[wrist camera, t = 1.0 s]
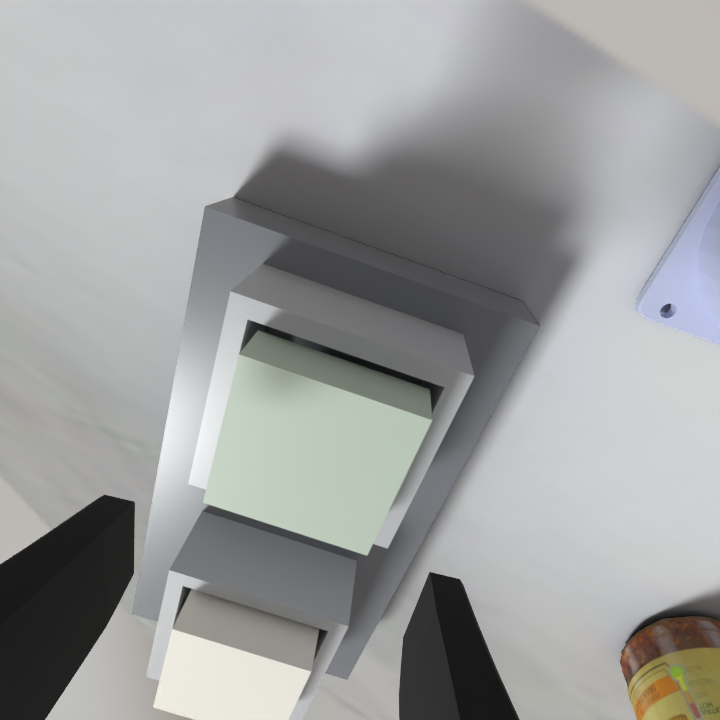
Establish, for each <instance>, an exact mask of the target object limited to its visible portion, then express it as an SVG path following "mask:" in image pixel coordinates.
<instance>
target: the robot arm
mask: <svg viewBox="0 0 720 720" xmlns="http://www.w3.org/2000/svg"><path fill="white" fill-rule="evenodd" d="M666 304H671V308H670V310H669V311H668V312H667V313H665V314H660V310H661V308H662V307H663V306H664V305H666ZM635 309H636V310H637V312H638V313H639V314H640V315H641V316H643V317H644V318H646V319H649V320H652V321H654V322H657V323H660V324H663V325H665V326H668V327H671V328H674V329H676V330H679V331H682V332H685V333H688V334H690V335H693V336H696V337H699V338H701V339H704V340H707V341H710V342H712V343H715V344H718V345H720V167H719V169H718V170H717V172H716V173H715V175H714V177H713V178H712V180H711V181H710V183H709V185H708V186H707V188H706V189H705V191H704V193H703V194H702V196H701V197H700V199H699V201H698V202H697V204H696V205H695V207H694V209H693V210H692V212H691V213H690V215H689V216H688V218H687V220H686V221H685V223H684V224H683V226H682V228H681V229H680V231H679V232H678V234H677V236H676V237H675V239H674V240H673V242H672V244H671V245H670V247H669V248H668V250H667V252H666V253H665V255H664V256H663V258H662V260H661V261H660V263H659V264H658V266H657V268H656V269H655V271H654V272H653V274H652V276H651V277H650V279H649V280H648V282H647V284H646V285H645V287H644V288H643V290H642V292H641V293H640V295H639V296H638V298H637V300H636V303H635ZM134 517H135V502H133V501H129V500H124V499H120V498H116V497H112V496H107V495H103V496H102V497H100V498H98V499H97V500H95V501H94V502H92V503H91V504H89V505H88V506H86V507H85V508H84V509H82V510H81V511H79V512H78V513H76V514H75V515H73V516H72V517H70V518H69V519H68V520H66V521H65V522H63V523H62V524H60V525H59V526H57V527H56V528H54V529H53V530H51V531H50V532H48V533H47V534H46V535H44V536H43V537H41V538H40V539H38V540H37V541H35V542H34V543H32V544H31V545H29V546H28V547H26V548H25V549H23V550H22V551H20V552H19V553H17V554H16V555H14V556H12V557H11V558H9V559H8V560H6V561H5V562H3V563H2V564H0V720H45V719H46V717H47V716H48V714H49V713H50V711H51V709H52V708H53V707H54V705H55V704H56V702H57V701H58V699H59V697H60V696H61V695H62V693H63V692H64V690H65V688H66V687H67V685H68V684H69V682H70V681H71V679H72V678H73V676H74V675H75V673H76V672H77V670H78V669H79V667H80V666H81V664H82V663H83V661H84V660H85V658H86V657H87V655H88V654H89V652H90V651H91V649H92V647H93V646H94V644H95V643H96V641H97V640H98V638H99V637H100V635H101V634H102V632H103V631H104V629H105V627H106V626H107V624H108V622H109V620H110V618H111V617H112V615H113V613H114V611H115V609H116V607H117V605H118V603H119V602H120V600H121V598H122V596H123V594H124V592H125V590H126V588H127V586H128V584H129V582H130V580H131V578H132V576H133V574H134ZM399 719H400V720H519V718H518V715H517V713H516V711H515V709H514V707H513V704H512V702H511V700H510V698H509V696H508V693H507V691H506V689H505V687H504V684H503V682H502V680H501V678H500V676H499V673H498V671H497V669H496V666H495V664H494V662H493V659H492V657H491V655H490V652H489V650H488V647H487V645H486V642H485V640H484V638H483V635H482V633H481V630H480V628H479V625H478V623H477V620H476V618H475V615H474V612H473V610H472V607H471V604H470V602H469V599H468V597H467V594H466V591H465V588H464V586H463V584H462V582H461V581H460V579H456V578H452V577H448V576H444V575H440V574H435V573H431V572H430V573H429V575H428V577H427V580H426V582H425V585H424V587H423V590H422V592H421V595H420V597H419V600H418V602H417V605H416V607H415V610H414V612H413V615H412V617H411V620H410V622H409V625H408V627H407V630H406V632H405V634H404V637H403V648H402V661H401V674H400V689H399Z"/></svg>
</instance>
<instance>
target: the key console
mask: <svg viewBox="0 0 720 720" xmlns="http://www.w3.org/2000/svg"><path fill="white" fill-rule="evenodd" d="M538 328H539V324H538V323H537V321H536V320H535V318H534V317H533V315H532V314H531V312H530V311H529V309H528V308H527V306H526V305H525V304H524V302H523V301H521V300H518V299H515V298H513V297H510V296H507V295H504V294H501V293H499V292H496V291H493V290H490V289H487V288H485V287H482V286H479V285H476V284H474V283H471V282H468V281H465V280H462V279H460V278H457V277H454V276H451V275H448V274H446V273H443V272H440V271H437V270H434V269H432V268H429V267H426V266H423V265H421V264H418V263H415V262H412V261H409V260H407V259H404V258H401V257H398V256H395V255H393V254H390V253H387V252H384V251H381V250H379V249H376V248H373V247H370V246H368V245H365V244H362V243H359V242H356V241H354V240H351V239H348V238H345V237H342V236H340V235H337V234H334V233H331V232H329V231H326V230H323V229H320V228H317V227H315V226H312V225H309V224H306V223H303V222H301V221H298V220H295V219H292V218H289V217H287V216H284V215H281V214H278V213H276V212H273V211H270V210H267V209H264V208H262V207H259V206H256V205H253V204H250V203H248V202H245V201H242V200H239V199H236V198H234V197H232V198H229V199H226V200H223V201H220V202H217V203H214V204H211V205H208V206H205V209H204V215H203V221H202V226H201V232H200V237H199V243H198V248H197V254H196V260H195V265H194V271H193V276H192V282H191V287H190V293H189V299H188V304H187V310H186V315H185V321H184V327H183V332H182V338H181V343H180V349H179V354H178V360H177V366H176V371H175V377H174V382H173V388H172V394H171V399H170V405H169V410H168V416H167V421H166V427H165V433H164V438H163V444H162V449H161V455H160V461H159V466H158V472H157V477H156V483H155V488H154V494H153V500H152V505H151V511H150V516H149V522H148V528H147V533H146V539H145V544H144V550H143V555H142V561H141V567H140V572H139V578H138V583H137V589H136V595H135V600H134V606H133V611H132V614H135V615H139V616H142V617H145V618H148V619H152V620H155V621H158V624H157V628H156V633H155V637H154V642H153V647H152V651H151V656H150V660H149V665H148V670H147V674H146V677H149V678H153V679H155V680H159V681H160V677H161V673H162V669H163V665H164V661H165V657H166V652H167V648H168V644H169V640H170V636H171V632H172V628H173V626H174V624H175V622H176V620H177V618H178V616H179V614H180V612H181V610H182V608H183V606H184V604H185V602H186V599H187V597H188V595H189V593H190V591H191V589H193V590H197V591H200V592H203V593H206V594H209V595H213V596H216V597H219V598H222V599H225V600H229V601H232V602H235V603H238V604H241V605H245V606H248V607H251V608H254V609H257V610H261V611H264V612H267V613H270V614H273V615H277V616H280V617H283V618H286V619H289V620H293V621H296V622H299V623H302V624H305V625H309V626H312V627H315V628H318V629H319V634H318V639H317V644H316V650H315V655H314V661H313V666H312V671H311V674H310V676H309V678H308V680H307V682H306V684H305V686H304V688H303V690H302V692H301V695H300V697H299V699H298V701H297V703H296V705H295V707H294V709H293V711H292V713H291V715H290V717H289V720H302V718H303V716H304V714H305V712H306V710H307V708H308V706H309V704H310V702H311V700H312V698H313V696H314V694H315V692H316V690H317V688H318V686H319V684H320V682H321V680H322V678H323V676H324V674H325V673H327V674H330V675H333V676H337V677H340V678H343V679H346V680H347V679H348V677H349V675H350V674H351V672H352V670H353V668H354V666H355V664H356V662H357V661H358V659H359V657H360V655H361V653H362V651H363V650H364V648H365V646H366V644H367V642H368V640H369V639H370V637H371V635H372V633H373V631H374V629H375V628H376V626H377V624H378V622H379V620H380V618H381V617H382V615H383V613H384V611H385V609H386V607H387V606H388V604H389V602H390V600H391V598H392V596H393V594H394V593H395V591H396V589H397V587H398V585H399V583H400V582H401V580H402V578H403V576H404V574H405V572H406V571H407V569H408V567H409V565H410V563H411V561H412V560H413V558H414V556H415V554H416V552H417V550H418V549H419V547H420V545H421V543H422V541H423V539H424V538H425V536H426V534H427V532H428V530H429V528H430V527H431V525H432V523H433V521H434V519H435V517H436V515H437V514H438V512H439V510H440V508H441V506H442V504H443V503H444V501H445V499H446V497H447V495H448V493H449V492H450V490H451V488H452V486H453V484H454V482H455V481H456V479H457V477H458V475H459V473H460V471H461V470H462V468H463V466H464V464H465V462H466V460H467V459H468V457H469V455H470V453H471V451H472V449H473V447H474V446H475V444H476V442H477V440H478V438H479V436H480V435H481V433H482V431H483V429H484V427H485V425H486V424H487V422H488V420H489V418H490V416H491V414H492V413H493V411H494V409H495V407H496V405H497V403H498V402H499V400H500V398H501V396H502V394H503V392H504V391H505V389H506V387H507V385H508V383H509V381H510V379H511V378H512V376H513V374H514V372H515V370H516V368H517V367H518V365H519V363H520V361H521V359H522V357H523V356H524V354H525V352H526V350H527V348H528V346H529V345H530V343H531V341H532V339H533V337H534V335H535V334H536V332H537V330H538ZM258 330H259V331H262V332H265V333H268V334H271V335H273V336H276V337H279V338H282V339H285V340H288V341H291V342H294V343H297V344H300V345H302V346H305V347H308V348H311V349H314V350H317V351H320V352H323V353H326V354H329V355H332V356H334V357H337V358H340V359H343V360H346V361H349V362H352V363H355V364H358V365H361V366H363V367H366V368H369V369H372V370H375V371H378V372H381V373H384V374H387V375H390V376H392V377H395V378H398V379H401V380H404V381H407V382H410V383H413V384H416V385H419V386H421V387H424V388H427V389H430V396H431V410H432V422H431V424H430V426H429V428H428V430H427V432H426V434H425V437H424V439H423V441H422V443H421V445H420V447H419V449H418V451H417V453H416V455H415V457H414V459H413V462H412V464H411V466H410V468H409V470H408V472H407V474H406V476H405V478H404V480H403V482H402V484H401V486H400V489H399V491H398V493H397V495H396V497H395V499H394V501H393V503H392V505H391V507H390V509H389V511H388V514H387V516H386V518H385V520H384V522H383V524H382V526H381V528H380V530H379V532H378V534H377V536H376V538H375V541H374V543H373V545H372V547H371V549H370V551H369V553H368V555H363V554H360V553H357V552H354V551H351V550H348V549H345V548H342V547H339V546H336V545H333V544H329V543H326V542H323V541H320V540H317V539H314V538H311V537H308V536H305V535H302V534H298V533H295V532H292V531H289V530H286V529H283V528H280V527H277V526H274V525H271V524H267V523H264V522H261V521H258V520H255V519H252V518H249V517H246V516H243V515H240V514H236V513H233V512H230V511H227V510H224V509H221V508H218V507H215V506H212V505H209V504H206V503H203V500H204V496H205V492H206V488H207V484H208V480H209V475H210V471H211V467H212V463H213V459H214V455H215V451H216V447H217V442H218V438H219V434H220V430H221V426H222V422H223V418H224V414H225V410H226V405H227V401H228V397H229V393H230V389H231V385H232V381H233V377H234V372H235V368H236V364H237V360H238V356H239V354H240V352H241V351H242V350H243V349H244V347H245V346H246V345H247V343H248V342H249V341H250V340H251V338H252V337H253V336H254V335H255V333H256V332H257V331H258Z"/></svg>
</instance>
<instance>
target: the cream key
mask: <svg viewBox="0 0 720 720" xmlns="http://www.w3.org/2000/svg"><path fill="white" fill-rule="evenodd" d="M318 634H319V629H318V628H315V627H312V626H309V625H305V624H302V623H299V622H296V621H293V620H289V619H286V618H283V617H280V616H277V615H273V614H270V613H267V612H264V611H261V610H257V609H254V608H251V607H248V606H245V605H241V604H238V603H235V602H232V601H229V600H225V599H222V598H219V597H216V596H213V595H209V594H206V593H203V592H200V591H197V590H193V589H191V591H190V593H189V595H188V597H187V599H186V602H185V604H184V606H183V608H182V610H181V612H180V614H179V616H178V618H177V620H176V622H175V624H174V626H173V628H172V632H171V636H170V640H169V644H168V648H167V652H166V657H165V661H164V665H163V669H162V673H161V677H160V682H159V686H158V689H157V694H156V698H155V702H154V706H153V707H154V708H157V709H161V710H164V711H167V712H171V713H174V714H178V715H181V716H184V717H187V718H191V719H194V720H289V717H290V715H291V713H292V711H293V709H294V707H295V705H296V703H297V701H298V699H299V697H300V695H301V692H302V690H303V688H304V686H305V684H306V682H307V680H308V678H309V676H310V674H311V671H312V666H313V661H314V655H315V650H316V644H317V639H318Z"/></svg>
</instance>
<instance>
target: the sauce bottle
mask: <svg viewBox="0 0 720 720" xmlns="http://www.w3.org/2000/svg"><path fill="white" fill-rule="evenodd" d="M621 653H622V656H621V660H620V663H621V667H622V671H623V674H624V677H625V680H626V682H627V686H628V694H629V699H630V702H631V704H632V707H633V709H634V712H635V715H636V717H637V720H720V621H719V620H716V619H713V618H711V617H695V616H688V617H687V616H686V617H675V618H666V619H661V620H659V621H657V622H654V623H653V624H651V625H647V627H645V628H644V629H642V630H640V631H638V632H637V633H636V634H635V635H634V636H633V637H632V638H631V639H629V641H628V642H627V643H626V645H625V647H624V649H623V650H622V652H621Z"/></svg>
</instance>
